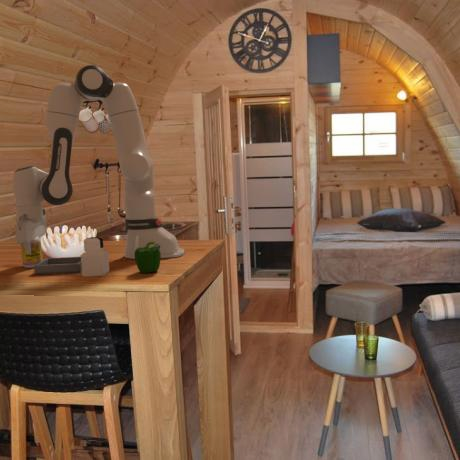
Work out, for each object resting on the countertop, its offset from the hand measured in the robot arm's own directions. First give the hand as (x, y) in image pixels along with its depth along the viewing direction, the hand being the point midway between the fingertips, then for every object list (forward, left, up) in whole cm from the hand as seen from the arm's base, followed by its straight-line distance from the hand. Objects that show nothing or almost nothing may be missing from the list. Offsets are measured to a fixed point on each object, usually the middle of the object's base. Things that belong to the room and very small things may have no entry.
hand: (33, 251), depth 195 cm
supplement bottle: (+1, 0, -5) cm, 5 cm away
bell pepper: (-43, +17, -5) cm, 47 cm away
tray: (-12, +8, -5) cm, 16 cm away
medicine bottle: (-26, +17, -5) cm, 32 cm away
